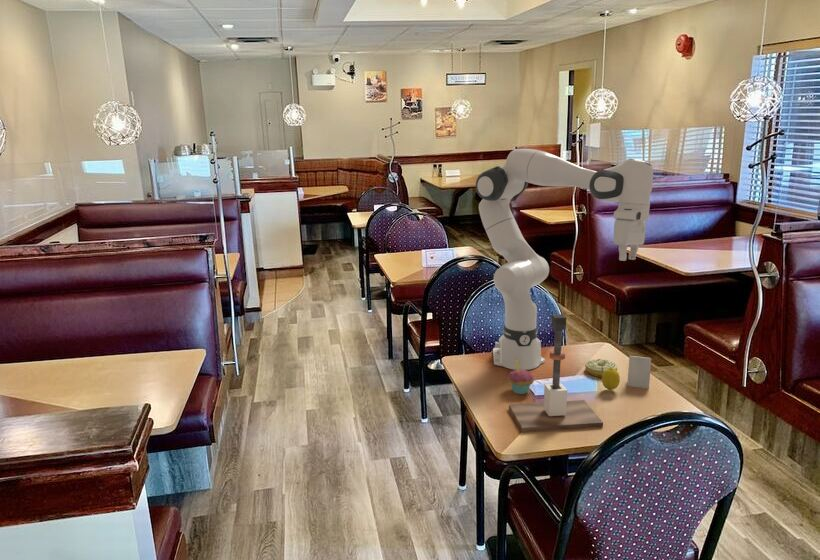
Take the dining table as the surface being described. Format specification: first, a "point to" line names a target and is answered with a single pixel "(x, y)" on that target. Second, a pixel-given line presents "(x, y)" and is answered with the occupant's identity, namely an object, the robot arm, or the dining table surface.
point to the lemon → (610, 379)
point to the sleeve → (555, 400)
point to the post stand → (577, 411)
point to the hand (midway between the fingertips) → (627, 260)
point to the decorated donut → (599, 366)
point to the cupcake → (520, 380)
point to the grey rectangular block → (639, 372)
